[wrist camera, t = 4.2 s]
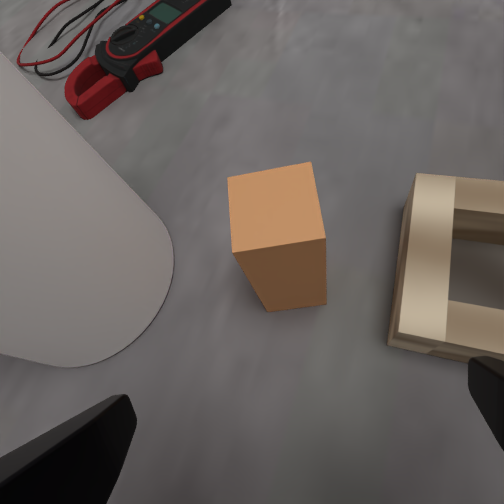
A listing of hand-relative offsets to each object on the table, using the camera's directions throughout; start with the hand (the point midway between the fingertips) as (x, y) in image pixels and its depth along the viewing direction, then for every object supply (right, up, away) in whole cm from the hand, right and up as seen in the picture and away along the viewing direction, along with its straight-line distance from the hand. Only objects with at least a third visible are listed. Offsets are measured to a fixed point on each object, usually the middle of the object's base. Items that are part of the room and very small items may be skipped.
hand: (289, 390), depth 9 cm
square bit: (+2, +2, +15) cm, 16 cm away
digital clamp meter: (-16, +31, +33) cm, 48 cm away
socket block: (+13, +2, +13) cm, 19 cm away
